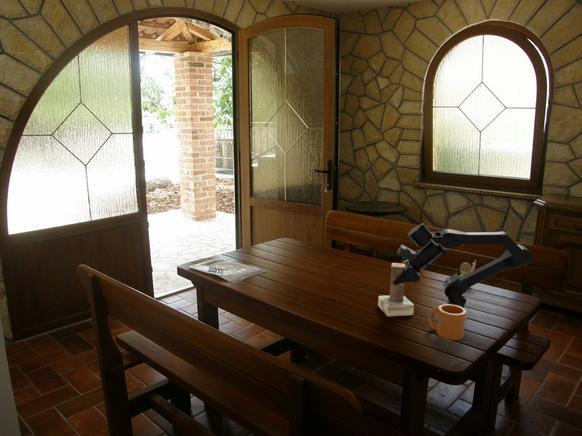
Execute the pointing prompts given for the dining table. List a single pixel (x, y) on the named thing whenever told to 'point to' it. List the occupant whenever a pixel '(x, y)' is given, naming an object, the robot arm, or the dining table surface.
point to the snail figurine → (467, 268)
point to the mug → (448, 321)
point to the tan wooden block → (398, 289)
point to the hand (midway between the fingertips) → (393, 281)
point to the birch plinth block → (395, 306)
